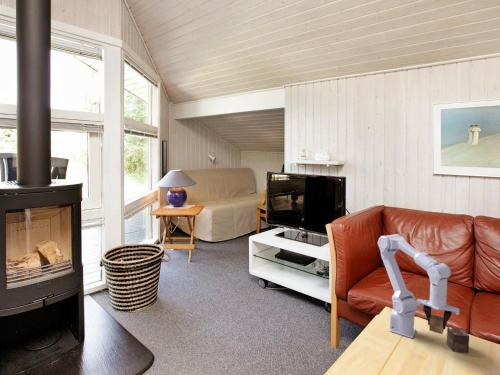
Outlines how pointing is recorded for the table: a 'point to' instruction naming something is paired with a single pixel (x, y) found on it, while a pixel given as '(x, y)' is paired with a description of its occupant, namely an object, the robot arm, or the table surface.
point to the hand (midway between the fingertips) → (436, 326)
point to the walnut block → (436, 324)
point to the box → (457, 339)
